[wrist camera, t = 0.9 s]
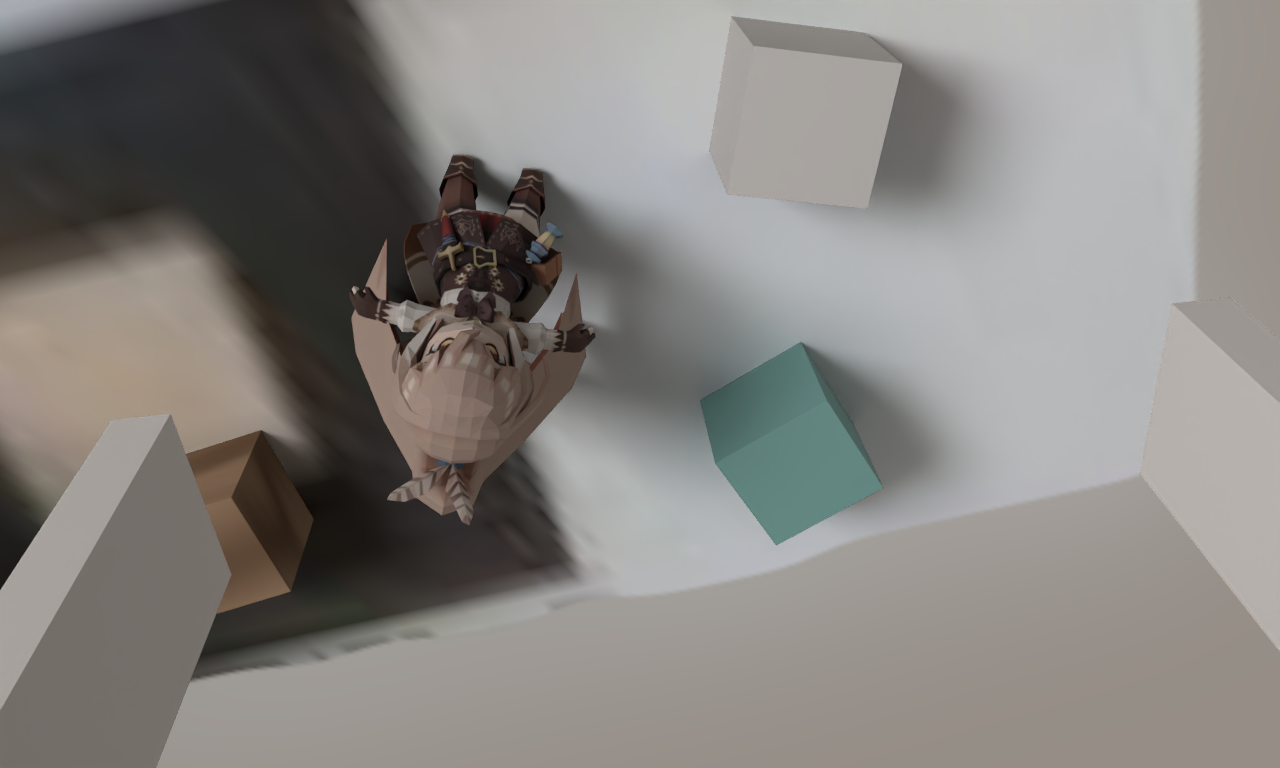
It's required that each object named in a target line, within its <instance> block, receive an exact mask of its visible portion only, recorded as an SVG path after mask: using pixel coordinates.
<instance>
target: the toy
mask: <svg viewBox="0 0 1280 768" xmlns="http://www.w3.org/2000/svg"><path fill="white" fill-rule="evenodd" d="M439 190H440V195H441V201H440V204H439V208H438V212H437V217H436V220H434V221H431V222H428V223H422V224H417V225H411V227H410V229H409V232H408V234H407V236H406V239H405V241H404V258H405V263H406V267H407V272H408V275H409V278H410V281H411V284H412V287H413V289H414V292H415V294H416V297H417V299H418V301H419V304H417V303H414V302H411V301H409V300H406V301H404V302H403V303H401V304H399V303H394V302H390V300H389V294H388V282H387V283H386V259H387V239H386V241H385V243H384V246H383V248H382V250H381V252H380V255H379V257H378V259H377V261H376V264H375V266H374V268H373V270H372V273H371V275H370V277H369V279H368V282H367V284H366V286H364V291H361V290H360V289H359V288H358V287H354V286H353V288H352V291H351V292H350V293H349V297H350V299H351V302H352V304H353V306H354V308H355V311H354V313H353V316H352V324H353V332H354V341H355V349H356V354H357V357H358V359H359V361H360V364H361V366H362V369H363V371H364V374H365V376H366V378H367V381H368V383H369V386H370V388H371V391H372V393H373V395H374V398H375V400H376V403H377V405H378V407H379V410H380V412H381V415H382V417H383V420H384V422H385V423H386V425H387V427H388V429H389V431H390V432H391V434H392V436H393V438H394V439H395V441H396V443H397V445H398V447H399V448H400V450H401V452H402V454H403V455H404V457H405V459H406V461H407V463H408V464H409V466H410V468H411V470H412V474H413V479H412V480H410V481H409V482H407V483H406V484H404V485H402V486H401V487H399V488H398V489H396V490H394V491H393V492H391V493H390V495H389V497H388V499H387V500H393V501H402V502H405V501H408V500H410V499H413V498H418V499H419V500H420V501H422V502H423V503H425V504H426V505H428V506H429V507H431V508H432V509H433V510H435V511H436V512H438V513H439V514H441V515H444V514H447V513H450V512H453V511H456V510H457V512H458V514H459V516H460V518H461V520H462V522H463V523H466V524H468V525H470V522H471V519H472V516H473V513H474V512H473V508H472V505H473V504H474V502H475V499H476V497H477V495H478V492H479V490H480V487H481V485H482V483H483V481H484V480H485V479H486V478H487V477H488V476H489V475H490V474H491V473H492V472H493V471H494V470H495V469H496V468H497V467H498V466H499V465H500V464H501V463H502V462H504V461H505V460H506V459H507V458H508V457H509V456H510V455H511V454H512V453H513V452H514V451H515V450H516V449H517V448H518V447H519V446H520V445H521V444H522V443H523V442H524V441H525V440H526V439H527V438H528V437H529V436H530V434H531V433H532V432H533V431H534V430H535V429H536V428H537V427H538V425H539V424H540V423H541V422H542V421H543V420H544V419H545V418H546V416H547V415H548V414H549V413H550V412H551V411H552V410H553V409H554V407H555V406H556V405H557V404H558V403H559V402H560V401H561V400H562V398H563V397H564V396H565V395H566V394H567V393H568V392H569V391H570V389H571V388H572V386H573V384H574V382H575V380H576V377H577V375H578V373H579V371H580V369H581V367H582V364H583V362H584V360H585V358H586V352H585V347H586V346H587V345H588V344H589V343H590V342H591V341H592V340H593V339H594V338H595V333H593V332H594V328H592V327H590V328H587V329H584V330H583V326H584V324H582V316H581V307H580V299H579V290H578V281H577V273H576V276H575V279H574V283H573V286H572V289H571V292H570V295H569V298H568V301H567V304H566V308H565V311H564V314H562V313H561V315H560V317H559V319H558V321H557V323H556V326H555V328H554V330H552V329H546V328H545V326H544V325H543V324H542V323H528V322H529V321H530V320H531V319H532V318H533V316H534V315H535V314H536V313H537V312H538V310H539V309H540V308H541V306H542V305H543V304H544V302H545V301H546V300H547V298H548V297H549V295H550V293H551V292H552V290H553V288H554V286H555V285H556V283H557V280H558V277H559V274H560V273H561V271H562V262H561V252H557V251H555V250H554V249H552V248H550V247H551V245H552V244H553V242H554V239H555V238H556V237H557V238H562V237H563V235H564V233H563V232H562V231H561V230H560V229H559V228H558V227H557V226H556V225H554V224H552V223H550V222H547V224H546V229H547V231H546V232H544V233H543V234H542V235H541V236H540V237H539V232H540V217H541V215H542V213H543V212H544V210H545V197H544V187H543V172H541V171H539V170H537V169H534V168H523V170H522V173H521V176H520V179H519V181H518V182H517V184H516V186H515V187H514V189H513V191H512V192H511V195H510V197H509V199H508V201H507V203H508V208H507V210H506V212H505V214H504V215H500V214H497V213H493V212H487V211H477V210H476V203H475V200H476V198H477V197H478V192H477V184H476V179H475V175H474V171H473V158H471V157H468V156H466V155H464V154H460V155H453V157H452V159H451V161H450V164H449V167H448V169H447V171H446V174H445V176H444V178H443V181H442V184H441V186H440V189H439ZM394 324H396V325H397V326H398V327H399V328H400V329H401V331H402V332H416V333H417V335H416V336H415V337H414V338H412V339H409V340H405V341H402V342H400V339H399V336H398V333H397V331H396V328H395V325H394ZM541 350H542V351H541ZM522 351H528V352H531V353H534V354H537V353H539V352H540V351H541V353H540V354H539V355H538V357H537V358H536V359H535V360H534V362H533V363H532V364H530V363H529V362H527V361H526V360H525V359H524V356H523V353H522Z"/></svg>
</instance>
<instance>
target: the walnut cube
mask: <svg viewBox="0 0 1280 768" xmlns="http://www.w3.org/2000/svg"><path fill="white" fill-rule="evenodd" d="M186 456H187V459H188V461H189V464H190V466H191V469H192V472H193V474H194V477H195V480H196V482H197V485H198V488H199V490H200V493H201V495H202V498H203V501H204V503H205V506H206V509H207V511H208V514H209V517H210V519H211V522H212V525H213V527H214V530H215V532H216V535H217V538H218V540H219V543H220V546H221V548H222V551H223V554H224V556H225V559H226V561H227V564H228V567H229V569H230V572H231V577H230V580H229V582H228V585H227V587H226V590H225V592H224V595H223V598H222V600H221V603H220V605H219V608H218V610H217V613H216V614H218V613H221V612H224V611H228V610H231V609H234V608H238V607H241V606H244V605H248V604H251V603H254V602H257V601H261V600H264V599H267V598H271V597H274V596H277V595H281V594H284V593H287V592H290V591H291V589H292V586H293V583H294V580H295V576H296V573H297V570H298V567H299V564H300V561H301V558H302V554H303V551H304V548H305V545H306V542H307V539H308V536H309V533H310V529H311V526H312V523H313V520H314V519H313V517H312V515H311V514H310V512H309V510H308V509H307V507H306V505H305V504H304V502H303V500H302V499H301V497H300V495H299V493H298V492H297V490H296V488H295V487H294V485H293V483H292V482H291V480H290V478H289V477H288V475H287V473H286V472H285V470H284V468H283V467H282V465H281V463H280V461H279V460H278V458H277V456H276V455H275V453H274V451H273V450H272V448H271V446H270V445H269V443H268V441H267V440H266V438H265V436H264V434H263V433H262V431H261V430H260V431H257V432H254V433H251V434H248V435H245V436H242V437H238V438H235V439H232V440H229V441H226V442H223V443H219V444H216V445H213V446H210V447H207V448H204V449H201V450H197V451H194V452H191V453H188V454H186Z"/></svg>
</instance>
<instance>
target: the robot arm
mask: <svg viewBox="0 0 1280 768" xmlns="http://www.w3.org/2000/svg"><path fill="white" fill-rule="evenodd" d="M1140 474H1141V476H1142V477H1143V478H1144V479H1145V481H1146V482H1147V483H1148V485H1149V486H1150V487H1151V488H1152V490H1153V491H1154V492H1155V493H1156V495H1157V496H1158V497H1159V499H1160V500H1161V501H1162V502H1163V504H1164V505H1165V506H1166V507H1167V509H1168V510H1169V511H1170V513H1171V514H1172V515H1173V516H1174V518H1175V519H1176V520H1177V521H1178V523H1179V524H1180V525H1181V526H1182V528H1183V529H1184V530H1185V531H1186V533H1187V534H1188V535H1189V537H1190V538H1191V539H1192V541H1193V542H1194V543H1195V544H1196V546H1197V547H1198V548H1199V549H1200V551H1201V552H1202V553H1203V554H1204V555H1205V557H1206V558H1207V560H1208V561H1209V562H1210V563H1211V565H1212V566H1213V567H1214V568H1215V570H1216V571H1217V572H1218V574H1219V575H1220V576H1221V577H1222V579H1223V580H1224V581H1225V583H1226V584H1227V585H1228V586H1229V588H1230V589H1231V590H1232V591H1233V592H1234V594H1235V595H1236V596H1237V598H1238V599H1239V600H1240V602H1241V603H1242V604H1243V605H1244V607H1245V608H1246V609H1247V610H1248V612H1249V613H1250V614H1251V615H1252V617H1253V618H1254V619H1255V621H1256V622H1257V623H1258V624H1259V626H1260V627H1261V628H1262V630H1263V631H1264V632H1265V633H1266V635H1267V636H1268V637H1269V638H1270V640H1271V641H1272V642H1273V644H1274V645H1275V646H1276V647H1277V649H1278V650H1279V651H1280V339H1279V338H1278V337H1277V336H1276V335H1275V334H1273V333H1272V332H1271V331H1270V330H1269V329H1267V328H1266V327H1265V326H1264V325H1263V324H1261V323H1260V322H1259V321H1258V320H1257V319H1255V318H1254V317H1253V316H1252V315H1251V314H1250V313H1248V312H1247V311H1246V310H1245V309H1244V308H1242V307H1241V306H1240V305H1239V304H1237V303H1236V302H1235V301H1234V300H1233V299H1232V298H1230V297H1228V298H1219V299H1210V300H1201V301H1192V302H1183V303H1173V304H1172V307H1171V313H1170V318H1169V323H1168V329H1167V334H1166V339H1165V344H1164V350H1163V355H1162V360H1161V365H1160V371H1159V376H1158V381H1157V386H1156V392H1155V397H1154V402H1153V408H1152V413H1151V418H1150V423H1149V429H1148V434H1147V439H1146V444H1145V450H1144V455H1143V460H1142V466H1141V471H1140ZM230 577H231V572H230V569H229V567H228V564H227V561H226V559H225V556H224V554H223V551H222V548H221V546H220V543H219V540H218V538H217V535H216V532H215V530H214V527H213V525H212V522H211V519H210V517H209V514H208V511H207V509H206V506H205V503H204V501H203V498H202V495H201V493H200V490H199V488H198V485H197V482H196V480H195V477H194V474H193V472H192V469H191V466H190V464H189V461H188V459H187V456H186V453H185V451H184V448H183V445H182V443H181V440H180V437H179V435H178V432H177V429H176V427H175V424H174V422H173V419H172V416H171V414H163V415H154V416H144V417H135V418H126V419H117V420H111V422H110V423H109V425H108V426H107V428H106V429H105V431H104V432H103V434H102V435H101V437H100V439H99V440H98V442H97V443H96V445H95V446H94V448H93V449H92V451H91V452H90V454H89V455H88V457H87V458H86V460H85V461H84V463H83V465H82V466H81V468H80V469H79V471H78V472H77V474H76V475H75V477H74V478H73V480H72V481H71V483H70V484H69V486H68V487H67V489H66V491H65V492H64V494H63V495H62V497H61V498H60V500H59V501H58V503H57V504H56V506H55V507H54V509H53V510H52V512H51V513H50V515H49V516H48V518H47V520H46V521H45V523H44V524H43V526H42V527H41V529H40V530H39V532H38V533H37V535H36V536H35V538H34V539H33V541H32V542H31V544H30V546H29V547H28V549H27V550H26V552H25V553H24V555H23V556H22V558H21V559H20V561H19V562H18V564H17V565H16V567H15V568H14V570H13V571H12V573H11V575H10V576H9V578H8V579H7V581H6V582H5V584H4V585H3V587H2V588H1V590H0V768H156V766H157V764H158V761H159V759H160V756H161V753H162V751H163V748H164V745H165V743H166V741H167V738H168V735H169V733H170V730H171V728H172V725H173V723H174V720H175V718H176V715H177V713H178V710H179V707H180V705H181V702H182V700H183V697H184V694H185V692H186V689H187V687H188V685H189V682H190V679H191V677H192V674H193V672H194V669H195V667H196V664H197V662H198V659H199V656H200V654H201V651H202V649H203V646H204V644H205V641H206V639H207V636H208V633H209V631H210V628H211V626H212V623H213V621H214V618H215V615H216V613H217V610H218V608H219V605H220V603H221V600H222V598H223V595H224V592H225V590H226V587H227V585H228V582H229V580H230Z"/></svg>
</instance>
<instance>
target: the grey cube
mask: <svg viewBox="0 0 1280 768" xmlns="http://www.w3.org/2000/svg"><path fill="white" fill-rule="evenodd" d="M902 65H903V64H902V63H901V62H900V61H899V60H897V59H896V58H895V57H894V56H892V55H891V54H890V53H889V52H888V51H886V50H885V49H884V48H883V47H881V46H880V45H879V44H878V43H877V42H875V41H874V40H873V39H872V38H870V37H869V36H868V35H867V34H866V33H862V32H854V31H846V30H838V29H830V28H822V27H814V26H806V25H797V24H789V23H781V22H773V21H765V20H757V19H749V18H741V17H733V16H731V21H730V27H729V33H728V39H727V45H726V51H725V57H724V63H723V69H722V75H721V81H720V87H719V93H718V99H717V105H716V112H715V118H714V124H713V130H712V136H711V142H710V148H709V152H710V155H711V157H712V159H713V162H714V164H715V167H716V169H717V171H718V174H719V176H720V178H721V181H722V183H723V186H724V188H725V190H726V193H727V194H728V195H738V196H748V197H758V198H767V199H777V200H787V201H797V202H807V203H816V204H826V205H836V206H846V207H855V208H865V209H868V204H869V200H870V196H871V192H872V188H873V184H874V180H875V176H876V172H877V168H878V163H879V159H880V155H881V151H882V147H883V143H884V139H885V135H886V131H887V127H888V123H889V118H890V114H891V110H892V106H893V102H894V98H895V94H896V90H897V86H898V82H899V77H900V73H901V69H902Z"/></svg>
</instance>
